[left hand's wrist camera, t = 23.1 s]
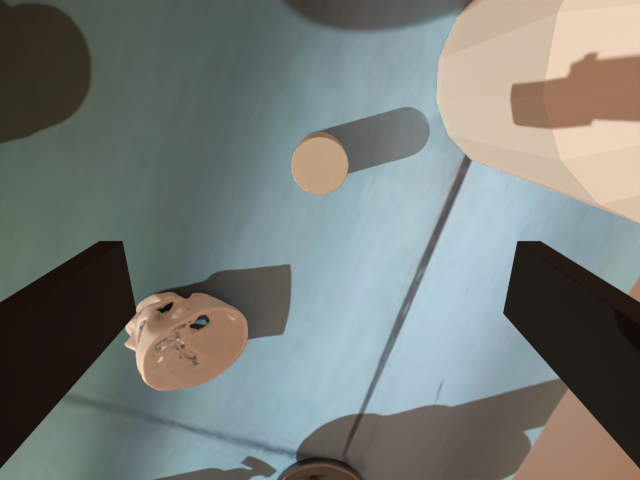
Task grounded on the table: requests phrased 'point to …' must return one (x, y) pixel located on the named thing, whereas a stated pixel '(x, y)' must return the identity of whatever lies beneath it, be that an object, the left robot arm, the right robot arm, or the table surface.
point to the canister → (319, 163)
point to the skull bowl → (185, 339)
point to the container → (549, 95)
